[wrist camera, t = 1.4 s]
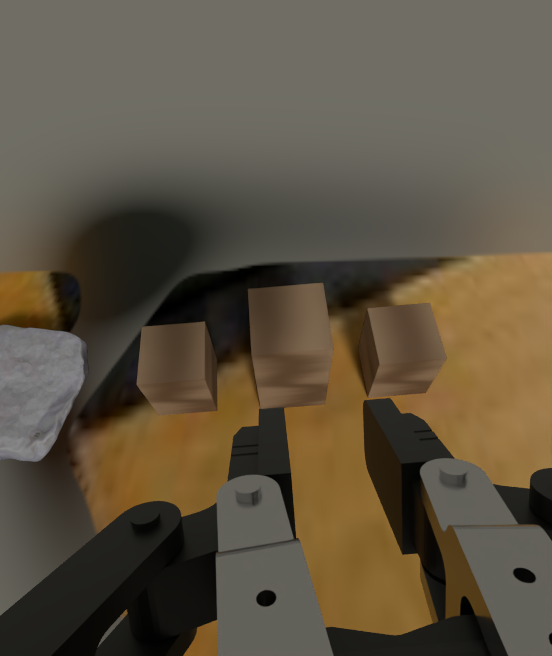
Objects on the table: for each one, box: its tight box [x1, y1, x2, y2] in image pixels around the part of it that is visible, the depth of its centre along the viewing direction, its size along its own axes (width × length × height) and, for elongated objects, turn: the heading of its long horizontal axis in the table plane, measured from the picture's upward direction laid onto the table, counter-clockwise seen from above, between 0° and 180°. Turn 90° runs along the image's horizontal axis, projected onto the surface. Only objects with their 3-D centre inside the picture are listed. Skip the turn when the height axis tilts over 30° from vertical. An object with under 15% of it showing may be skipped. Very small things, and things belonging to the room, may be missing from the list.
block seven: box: [137, 322, 217, 415], centre depth 37 cm, size 5×5×6 cm
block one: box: [358, 303, 447, 398], centre depth 38 cm, size 5×5×6 cm
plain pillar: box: [248, 283, 333, 409], centre depth 36 cm, size 6×6×10 cm
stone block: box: [0, 325, 89, 461], centre depth 39 cm, size 12×5×10 cm
